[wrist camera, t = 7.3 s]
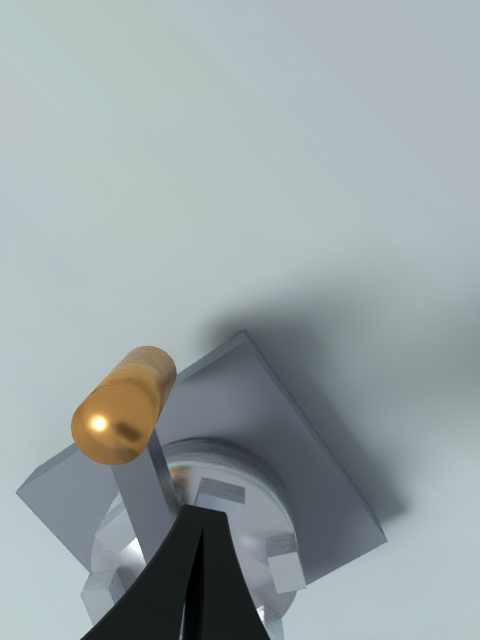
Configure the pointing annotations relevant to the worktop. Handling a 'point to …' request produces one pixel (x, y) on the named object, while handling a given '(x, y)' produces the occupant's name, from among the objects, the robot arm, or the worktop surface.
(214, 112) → the worktop surface
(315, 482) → the base plate
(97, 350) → the worktop surface
